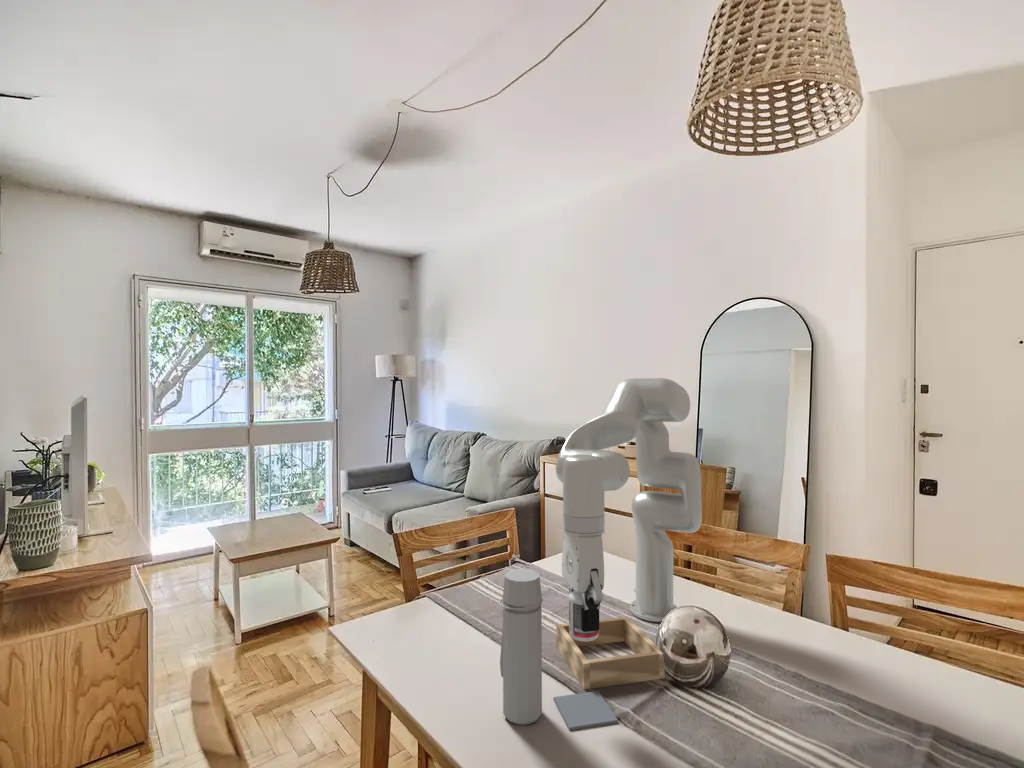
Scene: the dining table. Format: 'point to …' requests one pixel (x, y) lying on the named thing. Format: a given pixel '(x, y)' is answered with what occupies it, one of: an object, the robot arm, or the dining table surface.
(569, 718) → the rubber mat
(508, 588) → the water bottle
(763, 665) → the dining table surface
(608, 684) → the oak crate
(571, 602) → the pill bottle
